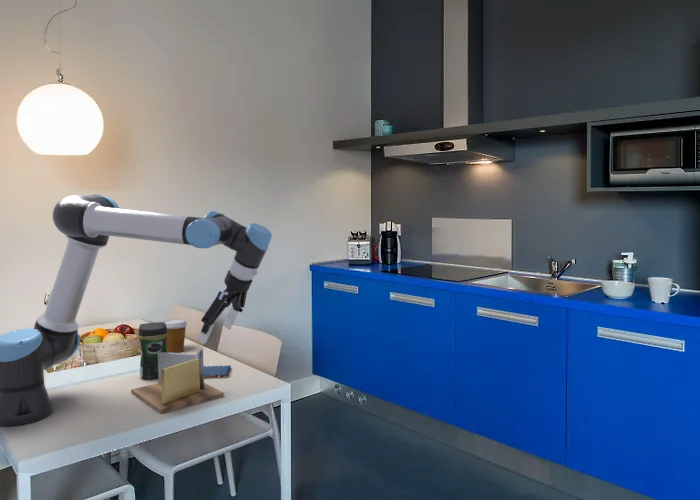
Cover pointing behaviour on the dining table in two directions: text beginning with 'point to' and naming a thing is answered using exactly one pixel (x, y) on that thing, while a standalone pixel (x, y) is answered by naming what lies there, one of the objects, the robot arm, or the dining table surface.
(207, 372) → the woven mat
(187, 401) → the walnut board
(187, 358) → the steel leaf and pin
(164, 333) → the coffee jar
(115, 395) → the dining table surface
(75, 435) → the dining table surface
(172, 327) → the disposable coffee cup
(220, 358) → the dining table surface
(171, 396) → the panel
